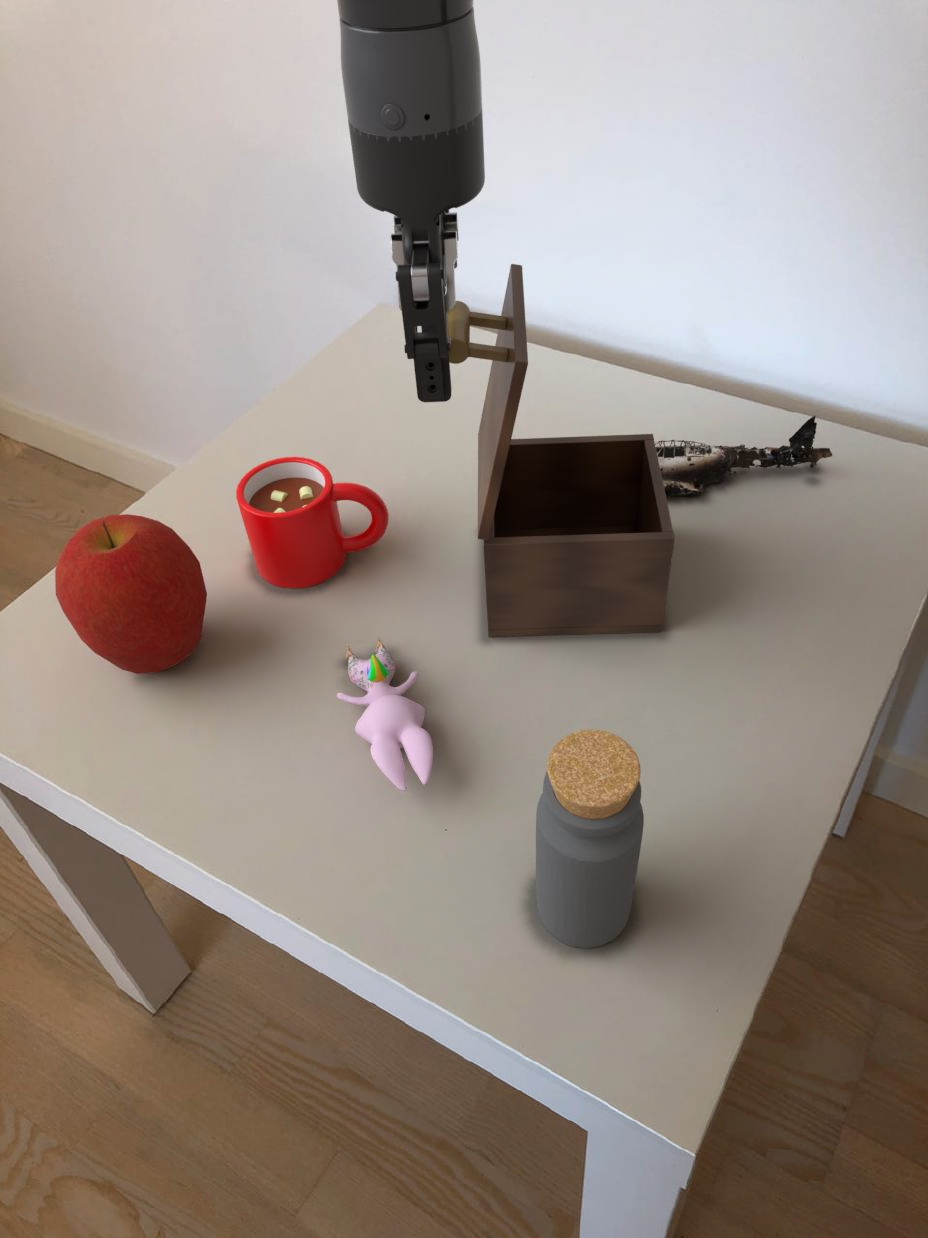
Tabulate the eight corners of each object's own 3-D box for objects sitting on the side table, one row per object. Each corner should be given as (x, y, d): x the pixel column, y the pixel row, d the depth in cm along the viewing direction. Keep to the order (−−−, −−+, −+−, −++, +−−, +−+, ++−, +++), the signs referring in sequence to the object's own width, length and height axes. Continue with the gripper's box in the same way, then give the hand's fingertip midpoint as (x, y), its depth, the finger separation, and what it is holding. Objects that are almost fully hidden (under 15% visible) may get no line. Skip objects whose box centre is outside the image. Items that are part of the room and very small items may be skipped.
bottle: (606, 850, 61) (621, 707, 50) (646, 931, 57) (672, 795, 46) (522, 878, 60) (518, 738, 49) (557, 963, 56) (562, 831, 45)
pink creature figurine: (330, 681, 74) (373, 818, 62) (315, 621, 71) (357, 755, 59) (407, 659, 75) (463, 790, 64) (395, 599, 72) (453, 727, 60)
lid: (522, 264, 65) (449, 253, 65) (528, 362, 57) (444, 351, 56) (487, 435, 76) (424, 427, 75) (488, 540, 67) (417, 532, 67)
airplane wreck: (839, 485, 85) (854, 434, 81) (634, 503, 85) (639, 453, 81) (818, 447, 89) (831, 396, 85) (622, 464, 89) (626, 414, 85)
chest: (642, 526, 83) (653, 433, 76) (661, 632, 74) (675, 538, 67) (487, 531, 83) (483, 439, 76) (488, 637, 75) (483, 544, 68)
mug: (395, 578, 80) (384, 506, 74) (253, 592, 80) (231, 521, 74) (391, 518, 85) (381, 446, 80) (258, 531, 85) (239, 460, 79)
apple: (246, 620, 77) (203, 486, 67) (186, 714, 71) (128, 582, 61) (137, 597, 80) (79, 465, 70) (69, 686, 73) (-5, 555, 63)
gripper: (482, 151, 47) (492, 428, 59) (482, 59, 57) (491, 313, 69) (333, 159, 48) (373, 433, 60) (358, 66, 57) (389, 317, 69)
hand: (436, 367), depth 64 cm, fingers open, 6 cm apart
